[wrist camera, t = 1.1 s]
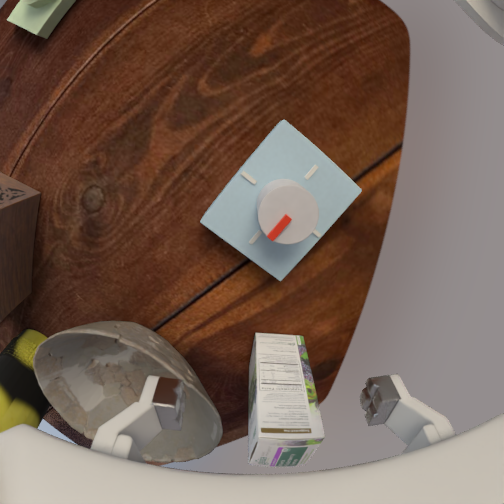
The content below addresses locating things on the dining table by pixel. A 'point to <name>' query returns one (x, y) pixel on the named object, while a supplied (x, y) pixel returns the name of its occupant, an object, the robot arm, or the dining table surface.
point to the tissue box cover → (16, 241)
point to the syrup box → (282, 403)
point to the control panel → (263, 172)
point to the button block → (39, 15)
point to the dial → (286, 211)
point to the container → (21, 383)
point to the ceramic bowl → (123, 384)
